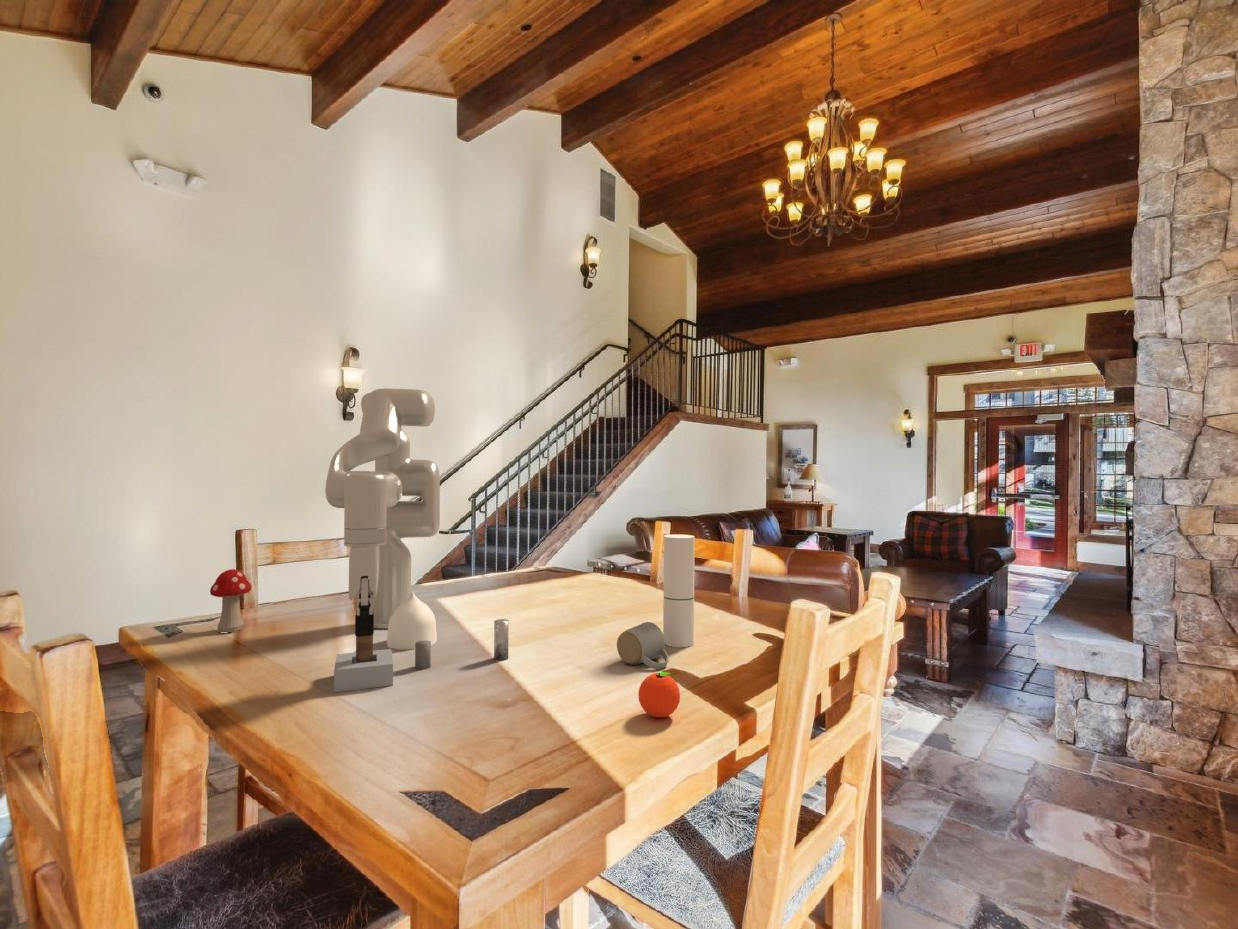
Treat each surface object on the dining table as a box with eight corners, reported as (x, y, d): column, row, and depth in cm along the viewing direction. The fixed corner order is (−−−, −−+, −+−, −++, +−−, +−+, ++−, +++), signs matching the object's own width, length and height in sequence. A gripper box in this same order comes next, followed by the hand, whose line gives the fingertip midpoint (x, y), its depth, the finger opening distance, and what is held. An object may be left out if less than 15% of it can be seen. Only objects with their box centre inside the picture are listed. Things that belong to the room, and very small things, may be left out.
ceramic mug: (613, 662, 129) (614, 625, 129) (638, 653, 135) (639, 618, 135) (652, 674, 122) (653, 636, 122) (677, 664, 128) (678, 628, 128)
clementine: (658, 702, 107) (658, 662, 107) (691, 713, 103) (692, 671, 103) (629, 716, 101) (630, 673, 101) (663, 728, 97) (664, 683, 97)
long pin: (356, 658, 118) (356, 585, 118) (372, 656, 119) (373, 584, 119) (355, 663, 115) (356, 588, 115) (372, 661, 116) (373, 587, 116)
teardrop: (376, 647, 138) (376, 594, 138) (404, 634, 149) (405, 585, 149) (420, 651, 136) (420, 597, 136) (445, 638, 146) (446, 587, 146)
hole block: (336, 674, 120) (337, 654, 120) (391, 668, 124) (391, 649, 124) (333, 692, 111) (334, 670, 111) (392, 685, 114) (393, 664, 114)
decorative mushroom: (217, 626, 155) (217, 567, 155) (255, 624, 157) (256, 565, 157) (203, 637, 145) (204, 573, 145) (244, 634, 148) (245, 572, 148)
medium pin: (492, 657, 132) (493, 619, 132) (506, 655, 133) (507, 618, 133) (495, 661, 129) (495, 623, 129) (509, 659, 130) (509, 622, 130)
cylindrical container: (693, 639, 147) (694, 534, 147) (694, 648, 140) (695, 538, 140) (663, 638, 147) (664, 534, 147) (662, 646, 140) (663, 537, 140)
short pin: (414, 665, 126) (414, 641, 126) (429, 664, 127) (430, 639, 127) (415, 670, 123) (415, 645, 123) (431, 668, 124) (431, 643, 124)
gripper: (345, 533, 123) (344, 624, 123) (342, 542, 108) (340, 647, 108) (385, 532, 126) (384, 621, 126) (387, 541, 111) (386, 642, 111)
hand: (364, 632), depth 117 cm, fingers closed on long pin, 3 cm apart
